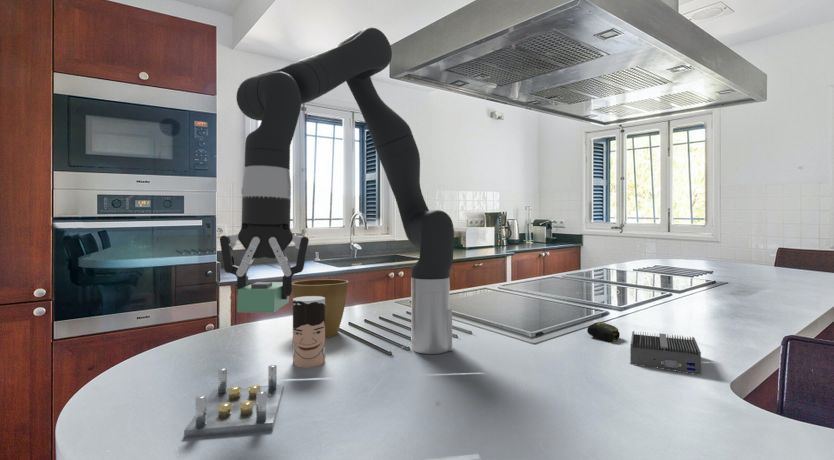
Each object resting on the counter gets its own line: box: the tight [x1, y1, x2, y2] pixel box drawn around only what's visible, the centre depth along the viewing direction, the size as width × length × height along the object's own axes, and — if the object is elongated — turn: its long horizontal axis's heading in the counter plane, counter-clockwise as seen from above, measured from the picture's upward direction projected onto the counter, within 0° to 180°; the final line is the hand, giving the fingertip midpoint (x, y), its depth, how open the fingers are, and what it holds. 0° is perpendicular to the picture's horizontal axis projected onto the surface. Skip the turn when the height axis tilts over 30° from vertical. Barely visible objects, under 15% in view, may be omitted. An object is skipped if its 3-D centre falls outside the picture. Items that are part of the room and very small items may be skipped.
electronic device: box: [629, 330, 702, 375], centre depth 97 cm, size 13×15×5 cm
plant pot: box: [292, 278, 350, 339], centre depth 114 cm, size 15×15×16 cm
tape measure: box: [586, 322, 620, 343], centre depth 114 cm, size 7×7×4 cm
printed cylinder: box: [292, 296, 326, 368], centre depth 92 cm, size 7×7×15 cm
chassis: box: [183, 364, 285, 439], centre depth 70 cm, size 16×12×5 cm
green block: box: [236, 281, 290, 313], centre depth 70 cm, size 10×6×4 cm, turn 4°
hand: (264, 298), depth 70 cm, fingers closed on green block, 5 cm apart
